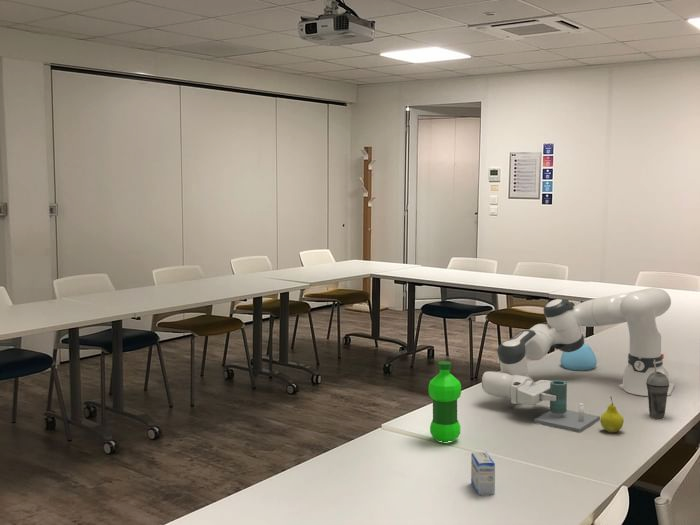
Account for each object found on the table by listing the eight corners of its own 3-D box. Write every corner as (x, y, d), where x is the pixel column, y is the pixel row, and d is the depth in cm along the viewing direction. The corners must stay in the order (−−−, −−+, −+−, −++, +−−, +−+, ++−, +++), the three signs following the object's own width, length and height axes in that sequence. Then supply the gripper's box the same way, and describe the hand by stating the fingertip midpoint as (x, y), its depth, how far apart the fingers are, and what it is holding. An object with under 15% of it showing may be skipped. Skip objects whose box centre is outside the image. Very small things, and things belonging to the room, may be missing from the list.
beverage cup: (670, 421, 239) (672, 362, 237) (647, 420, 241) (648, 361, 238) (665, 414, 246) (667, 357, 244) (643, 413, 248) (644, 356, 246)
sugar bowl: (558, 370, 307) (558, 343, 306) (562, 361, 321) (562, 336, 320) (595, 372, 302) (595, 345, 301) (597, 364, 316) (598, 338, 314)
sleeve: (554, 408, 247) (554, 379, 246) (568, 411, 244) (568, 382, 242) (547, 411, 243) (548, 383, 242) (561, 414, 240) (562, 385, 239)
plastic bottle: (441, 448, 219) (440, 368, 217) (422, 438, 229) (421, 361, 226) (468, 442, 224) (467, 364, 221) (448, 432, 233) (448, 357, 231)
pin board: (555, 410, 253) (555, 390, 252) (599, 419, 242) (600, 399, 241) (533, 422, 241) (534, 401, 240) (579, 432, 230) (580, 410, 230)
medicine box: (470, 483, 194) (470, 452, 193) (487, 482, 194) (487, 451, 193) (478, 495, 186) (478, 463, 185) (495, 494, 186) (495, 462, 185)
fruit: (606, 426, 235) (607, 391, 234) (627, 431, 231) (627, 395, 229) (596, 432, 231) (597, 395, 229) (617, 437, 226) (618, 399, 224)
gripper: (537, 391, 259) (574, 397, 250) (509, 404, 244) (547, 412, 235) (537, 373, 259) (574, 380, 249) (509, 386, 243) (547, 393, 234)
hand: (560, 396), depth 242 cm, fingers closed on sleeve, 5 cm apart
